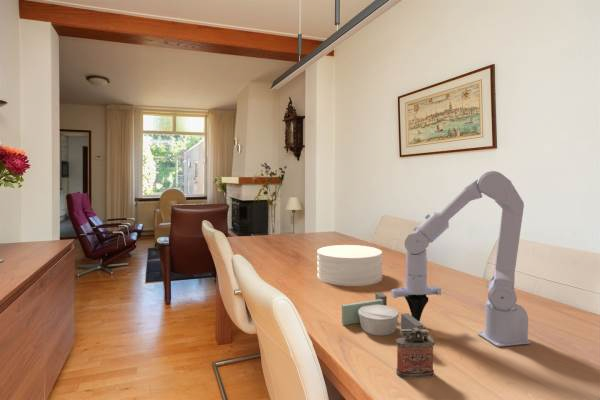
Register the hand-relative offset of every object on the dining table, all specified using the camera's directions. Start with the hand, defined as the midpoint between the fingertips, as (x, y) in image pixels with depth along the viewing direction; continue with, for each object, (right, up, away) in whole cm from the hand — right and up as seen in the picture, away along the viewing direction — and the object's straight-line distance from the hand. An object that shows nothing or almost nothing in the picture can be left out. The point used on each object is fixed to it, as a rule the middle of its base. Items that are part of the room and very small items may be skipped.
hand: (415, 320), depth 103 cm
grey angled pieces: (-7, -2, -3) cm, 7 cm away
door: (-15, -1, +3) cm, 15 cm away
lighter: (-9, -3, -26) cm, 27 cm away
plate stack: (-12, +1, +52) cm, 54 cm away
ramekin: (-12, -2, -2) cm, 12 cm away
